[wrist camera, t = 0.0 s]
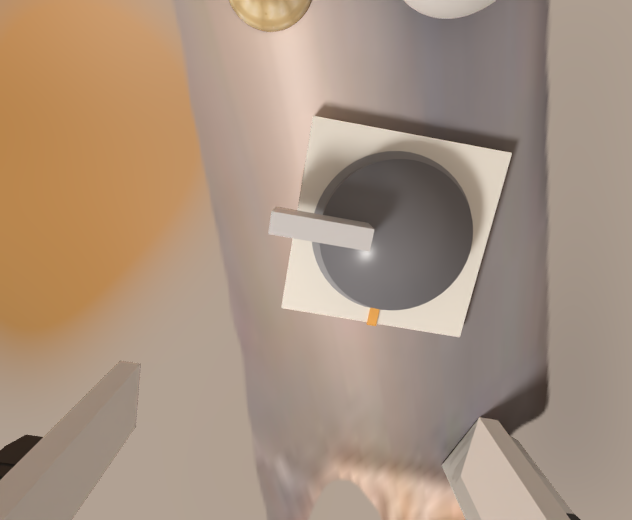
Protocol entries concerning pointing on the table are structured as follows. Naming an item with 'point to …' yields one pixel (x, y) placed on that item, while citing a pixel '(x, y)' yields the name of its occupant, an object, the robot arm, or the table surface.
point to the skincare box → (453, 473)
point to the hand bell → (270, 13)
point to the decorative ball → (448, 7)
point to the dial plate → (372, 146)
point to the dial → (388, 233)
